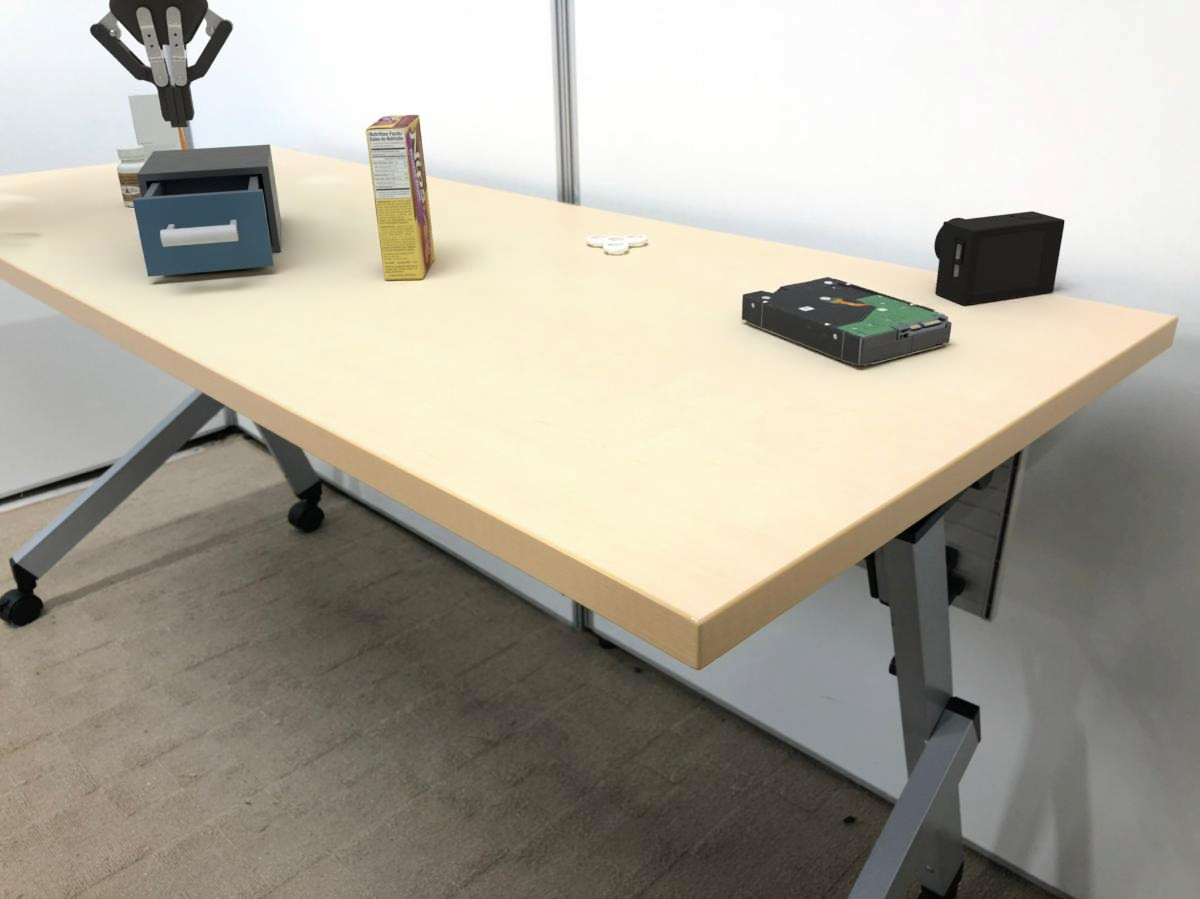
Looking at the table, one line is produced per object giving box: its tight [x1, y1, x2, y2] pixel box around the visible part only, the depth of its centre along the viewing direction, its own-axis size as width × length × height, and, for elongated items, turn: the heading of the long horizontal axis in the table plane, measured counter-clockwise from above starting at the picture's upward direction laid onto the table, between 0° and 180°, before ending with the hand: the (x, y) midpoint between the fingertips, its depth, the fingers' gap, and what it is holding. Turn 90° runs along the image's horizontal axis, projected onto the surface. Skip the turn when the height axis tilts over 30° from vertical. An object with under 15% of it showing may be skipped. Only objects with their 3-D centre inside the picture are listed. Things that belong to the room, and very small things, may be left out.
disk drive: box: [741, 276, 953, 367], centre depth 90 cm, size 10×3×15 cm
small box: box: [128, 89, 189, 161], centre depth 162 cm, size 8×6×13 cm
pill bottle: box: [116, 144, 146, 208], centre depth 146 cm, size 4×4×8 cm
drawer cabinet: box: [137, 144, 282, 253], centre depth 124 cm, size 17×14×10 cm
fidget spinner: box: [585, 233, 649, 254], centre depth 120 cm, size 7×6×1 cm
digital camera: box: [933, 210, 1066, 306], centre depth 99 cm, size 10×5×7 cm, turn 111°
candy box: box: [365, 114, 436, 281], centre depth 109 cm, size 9×4×15 cm, turn 0°
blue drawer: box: [133, 174, 274, 278], centre depth 113 cm, size 21×12×8 cm, turn 15°
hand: (180, 126), depth 102 cm, fingers closed
